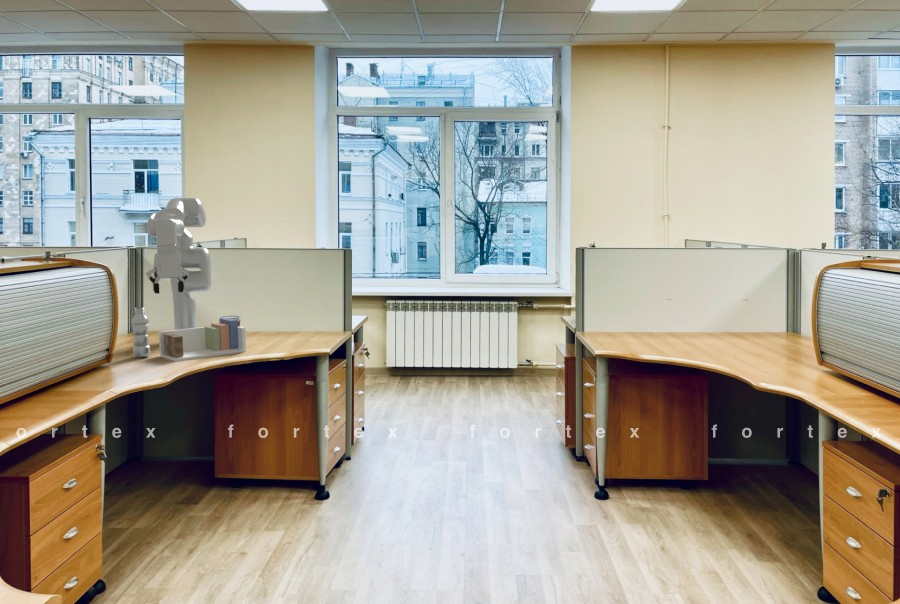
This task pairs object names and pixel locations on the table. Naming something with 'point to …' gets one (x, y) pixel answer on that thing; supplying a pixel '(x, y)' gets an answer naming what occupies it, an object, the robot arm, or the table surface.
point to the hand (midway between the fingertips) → (169, 292)
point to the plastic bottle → (140, 333)
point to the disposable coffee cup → (233, 318)
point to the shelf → (198, 344)
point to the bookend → (173, 345)
